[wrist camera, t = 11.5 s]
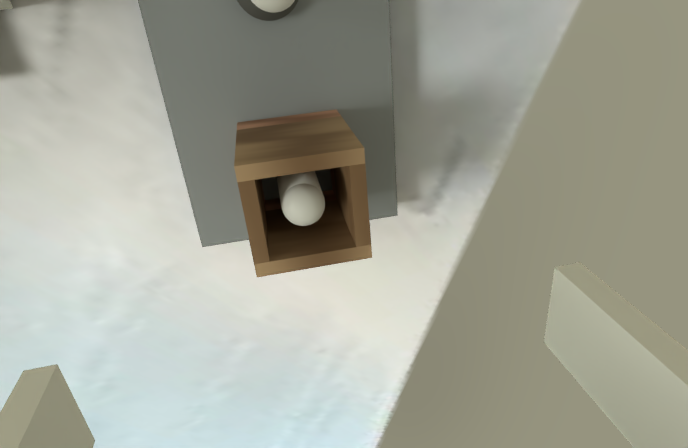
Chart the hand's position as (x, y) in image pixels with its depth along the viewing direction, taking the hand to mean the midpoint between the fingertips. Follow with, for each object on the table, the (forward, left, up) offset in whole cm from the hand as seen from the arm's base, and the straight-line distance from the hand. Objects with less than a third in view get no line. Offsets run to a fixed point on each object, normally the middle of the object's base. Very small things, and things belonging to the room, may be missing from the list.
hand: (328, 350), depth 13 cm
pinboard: (0, +4, -17) cm, 18 cm away
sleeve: (0, 0, -16) cm, 16 cm away
